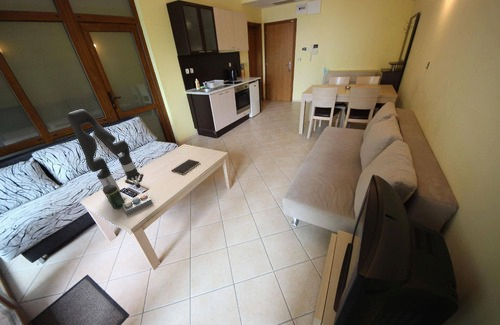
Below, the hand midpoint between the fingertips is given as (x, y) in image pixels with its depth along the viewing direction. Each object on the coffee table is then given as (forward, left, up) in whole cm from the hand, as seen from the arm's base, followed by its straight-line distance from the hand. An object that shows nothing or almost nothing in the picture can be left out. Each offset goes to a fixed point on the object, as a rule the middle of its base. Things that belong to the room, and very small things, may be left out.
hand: (138, 187), depth 144 cm
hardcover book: (-25, +45, -15) cm, 54 cm away
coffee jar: (-12, -17, -14) cm, 25 cm away
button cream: (0, -11, -12) cm, 16 cm away
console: (0, -5, -14) cm, 15 cm away
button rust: (0, 0, -13) cm, 13 cm away
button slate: (0, -5, -12) cm, 13 cm away
